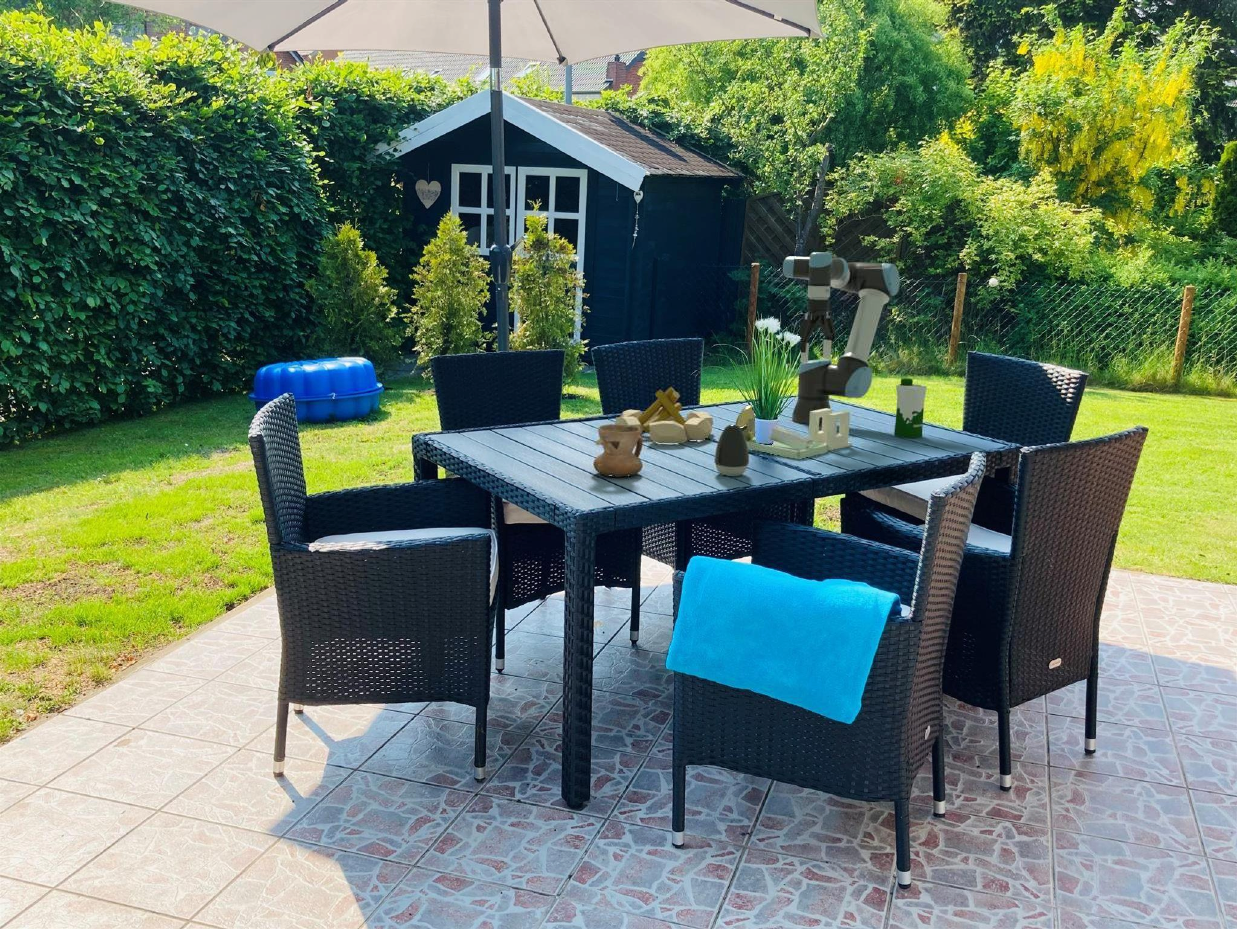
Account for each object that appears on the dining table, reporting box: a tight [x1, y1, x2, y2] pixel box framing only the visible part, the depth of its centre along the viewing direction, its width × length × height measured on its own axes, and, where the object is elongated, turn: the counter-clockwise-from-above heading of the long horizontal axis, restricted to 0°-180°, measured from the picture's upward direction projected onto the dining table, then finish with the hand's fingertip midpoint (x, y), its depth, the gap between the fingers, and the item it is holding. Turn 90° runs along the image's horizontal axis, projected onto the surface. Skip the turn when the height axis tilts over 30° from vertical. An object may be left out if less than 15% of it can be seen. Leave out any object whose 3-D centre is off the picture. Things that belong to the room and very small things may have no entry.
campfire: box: [614, 386, 714, 444], centre depth 375 cm, size 35×34×17 cm
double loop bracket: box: [808, 408, 853, 451], centre depth 363 cm, size 11×12×12 cm
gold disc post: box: [735, 404, 814, 451], centre depth 357 cm, size 28×12×12 cm, turn 46°
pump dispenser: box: [713, 423, 750, 477], centre depth 319 cm, size 10×10×15 cm
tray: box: [746, 438, 829, 460], centre depth 357 cm, size 16×31×2 cm, turn 45°
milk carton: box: [893, 377, 928, 439], centre depth 379 cm, size 9×9×20 cm
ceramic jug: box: [593, 423, 644, 477], centre depth 318 cm, size 18×14×14 cm
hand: (815, 360), depth 373 cm, fingers open, 13 cm apart
